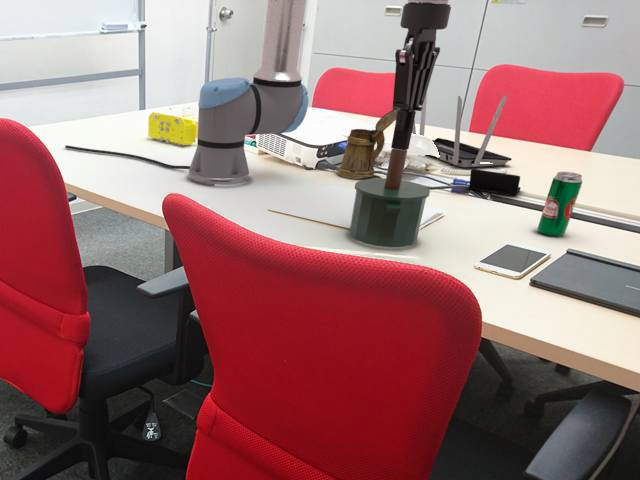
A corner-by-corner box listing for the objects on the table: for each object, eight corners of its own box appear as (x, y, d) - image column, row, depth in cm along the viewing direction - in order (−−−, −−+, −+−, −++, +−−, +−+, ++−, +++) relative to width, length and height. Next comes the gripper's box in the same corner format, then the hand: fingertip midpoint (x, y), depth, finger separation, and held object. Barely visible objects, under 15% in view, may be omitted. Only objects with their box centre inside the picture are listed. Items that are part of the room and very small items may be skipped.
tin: (349, 251, 122) (358, 201, 117) (348, 221, 137) (355, 176, 132) (420, 257, 120) (432, 206, 115) (410, 227, 135) (420, 181, 130)
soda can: (531, 229, 135) (549, 171, 129) (554, 229, 135) (573, 171, 129) (545, 237, 131) (565, 177, 125) (569, 237, 131) (590, 177, 125)
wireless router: (525, 171, 179) (548, 93, 169) (455, 176, 173) (474, 95, 163) (446, 145, 207) (462, 77, 197) (383, 148, 201) (395, 78, 191)
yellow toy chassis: (147, 139, 207) (147, 111, 203) (160, 136, 210) (160, 109, 206) (182, 147, 197) (183, 118, 193) (195, 145, 200) (197, 116, 196)
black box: (521, 182, 162) (525, 154, 153) (518, 205, 159) (523, 178, 151) (470, 182, 167) (471, 155, 158) (467, 205, 164) (468, 179, 156)
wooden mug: (372, 185, 163) (386, 109, 154) (330, 173, 173) (341, 101, 164) (394, 180, 168) (409, 106, 159) (352, 169, 177) (364, 99, 168)
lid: (355, 200, 119) (362, 155, 115) (353, 182, 131) (360, 140, 127) (432, 207, 117) (443, 160, 113) (424, 187, 128) (433, 144, 124)
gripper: (433, 2, 102) (403, 157, 113) (465, 2, 110) (434, 146, 122) (388, 1, 106) (364, 150, 118) (422, 1, 114) (396, 140, 126)
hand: (399, 148), depth 120 cm, fingers closed
